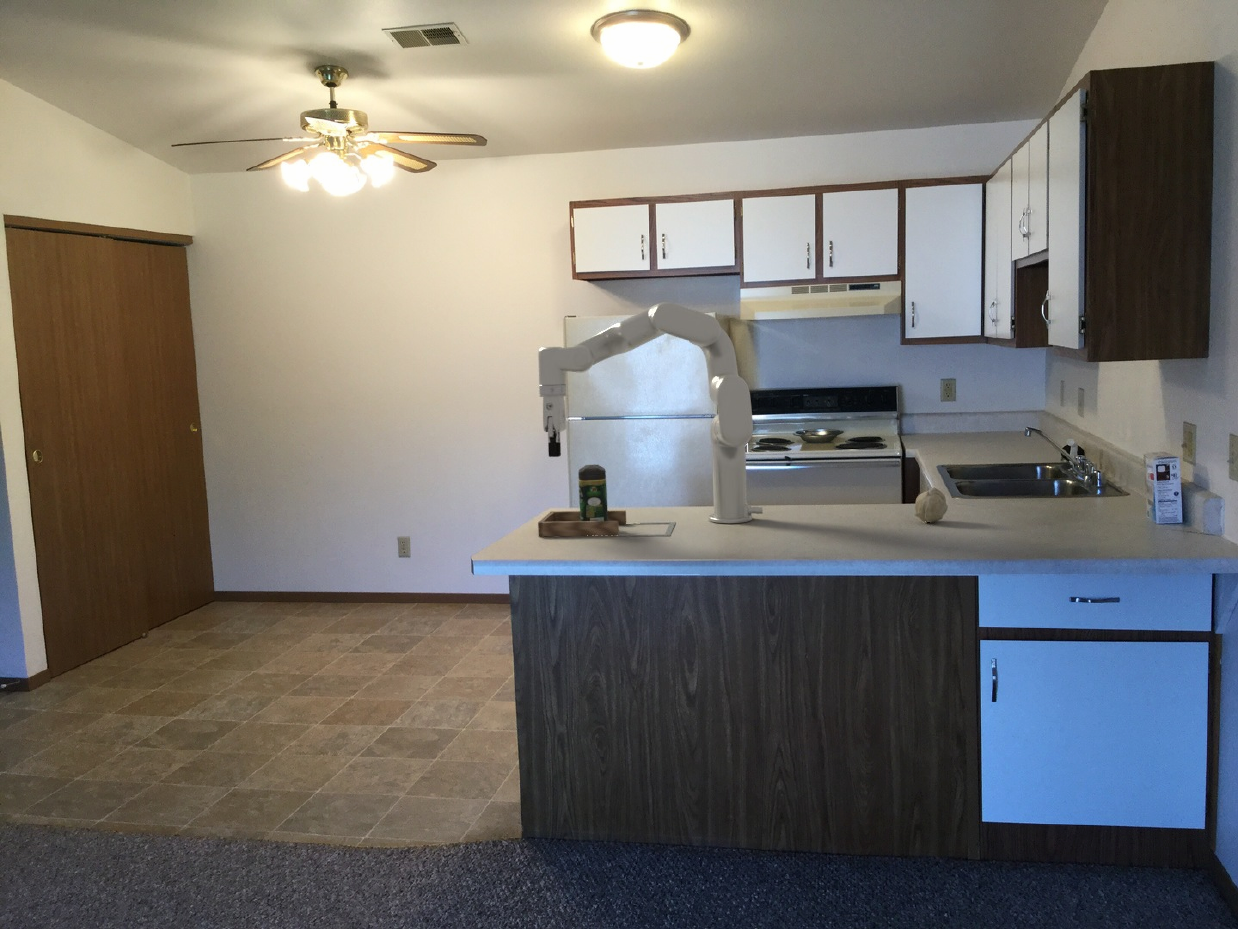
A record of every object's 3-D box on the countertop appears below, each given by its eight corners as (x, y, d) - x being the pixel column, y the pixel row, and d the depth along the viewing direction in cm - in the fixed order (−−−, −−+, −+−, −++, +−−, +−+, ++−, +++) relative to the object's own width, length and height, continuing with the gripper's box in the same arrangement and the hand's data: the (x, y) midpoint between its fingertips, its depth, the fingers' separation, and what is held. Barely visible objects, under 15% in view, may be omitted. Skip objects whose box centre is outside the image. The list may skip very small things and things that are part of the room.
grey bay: (675, 522, 281) (675, 522, 281) (670, 536, 262) (670, 535, 262) (626, 523, 283) (626, 522, 283) (617, 536, 264) (617, 535, 264)
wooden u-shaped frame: (626, 524, 282) (625, 510, 282) (618, 536, 265) (617, 521, 264) (551, 524, 285) (550, 511, 285) (538, 536, 268) (538, 522, 268)
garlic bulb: (945, 519, 270) (945, 484, 269) (952, 525, 262) (952, 489, 261) (910, 520, 271) (910, 485, 270) (916, 526, 263) (916, 489, 262)
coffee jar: (580, 527, 279) (577, 463, 277) (608, 526, 280) (605, 462, 277) (580, 534, 270) (577, 468, 267) (608, 533, 270) (606, 466, 268)
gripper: (560, 392, 263) (562, 459, 265) (571, 389, 278) (572, 453, 280) (533, 392, 264) (535, 459, 266) (545, 390, 279) (547, 453, 281)
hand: (554, 456), depth 273 cm, fingers closed
